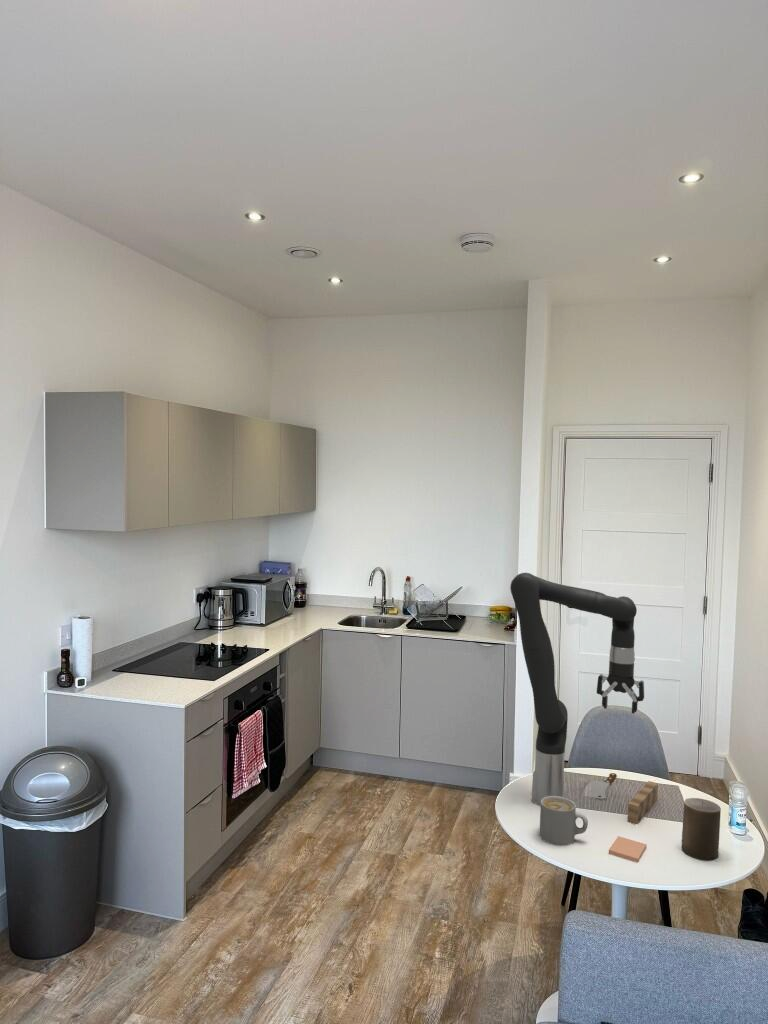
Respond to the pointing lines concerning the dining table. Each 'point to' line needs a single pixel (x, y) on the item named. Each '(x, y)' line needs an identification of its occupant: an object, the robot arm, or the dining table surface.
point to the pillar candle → (701, 828)
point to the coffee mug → (560, 820)
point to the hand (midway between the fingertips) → (619, 710)
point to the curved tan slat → (642, 802)
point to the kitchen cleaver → (601, 787)
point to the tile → (627, 849)
